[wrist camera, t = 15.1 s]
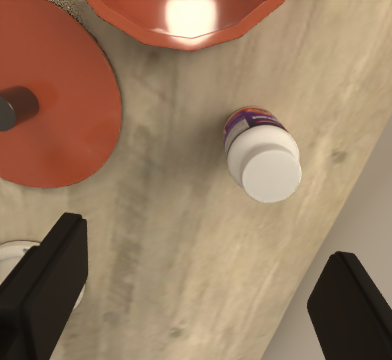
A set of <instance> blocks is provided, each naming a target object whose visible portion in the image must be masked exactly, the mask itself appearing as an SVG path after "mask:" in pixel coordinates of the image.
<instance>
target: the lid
mask: <svg viewBox="0 0 392 360" xmlns="http://www.w3.org/2000/svg"><path fill="white" fill-rule="evenodd" d="M121 123H122V102H121V97H120V91H119V87H118V84H117V81H116V77H115V75H114V72H113V70H112V68H111V65H110V63H109V61H108V60H107V58H106V56H105V54H104V53H103V51H102V49H101V48H100V46H99V45H98V44H97V42H96V41H95V40H94V38H93V37H92V36H91V35H90V34H89V32H88V31H87V30H86V29H85V28H84V27H83V26H82V25H81V24H80V23H79V22H78V21H77V20H76V19H74V18H73V17H72V16H71V15H70V14H69V13H67V12H66V11H64V10H63V9H61V8H60V7H59V6H57V5H56V4H54V3H52V2H50V1H48V0H0V178H3V179H6V180H8V181H11V182H14V183H17V184H21V185H24V186H30V187H37V188H58V187H63V186H68V185H72V184H75V183H78V182H80V181H82V180H84V179H86V178H88V177H89V176H91V175H92V174H94V173H95V172H96V171H97V170H98V169H100V168H101V167H102V166H103V164H104V163H105V162H106V161H107V159H108V158H109V157H110V155H111V153H112V152H113V150H114V148H115V146H116V143H117V141H118V138H119V134H120V130H121Z"/></svg>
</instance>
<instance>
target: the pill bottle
mask: <svg viewBox="0 0 392 360" xmlns="http://www.w3.org/2000/svg"><path fill="white" fill-rule="evenodd" d="M223 143H224V149H225V155H226V160H227V165H228V169H229V172H230V175H231V177H232V178H233V180H234V181H235V182H236V183H237V184H238V185H239V186H241V187H242V188H244V190H245V192H246V193H247V194H248V195H249V196H250V197H251V198H253V199H254V200H256V201H259V202H263V203H275V202H279V201H282V200H284V199H286V198H287V197H289V196H290V195H291V194H293V193H294V191H295V190H296V189H297V187H298V186H299V184H300V181H301V167H300V164H299V150H298V147H297V144H296V142H295V140H294V139H293V137H292V136H291V135H290V134H289V133H288V131H287V130H286V129H285V128H284V127H283V126H282V124H281V123H280V122H279V121H278V120H277V119H276V117H275V116H274V115H273V114H272V113H270V112H269V111H268V110H266V109H264V108H261V107H256V106H250V107H245V108H242V109H239V110H238V111H236V112H235V113H233V114H232V115H231V116H230V117H229V119H228V120H227V122H226V124H225V126H224V129H223Z"/></svg>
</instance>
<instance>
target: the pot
mask: <svg viewBox="0 0 392 360" xmlns="http://www.w3.org/2000/svg"><path fill="white" fill-rule="evenodd" d="M86 1H87V2H88V4H89V5H90V6H91V7H92V9H93V10H94V11H95V12H96V14H97V15H98V16H99V17H101V18H102V19H104V20H105V21H107V22H109V23H110V24H112V25H114V26H115V27H117V28H118V29H120V30H122V31H123V32H125V33H127V34H128V35H130V36H131V37H133V38H135V39H136V40H138V41H139V42H141V43H143V44H146V45H152V46H159V47H166V48H172V49H179V50H186V51H196V50H199V49H203V48H206V47H210V46H213V45H217V44H220V43H223V42H227V41H230V40H234V39H237V38H240V37H242V36H243V35H244V34H245V33H247V32H248V31H249V30H250V29H252V28H253V27H254V26H255V25H257V24H258V23H259V22H260V21H261V20H263V19H264V18H265V17H266V16H268V15H269V14H270V13H271V12H273V11H274V10H275V9H276V8H278V7H279V6H280V5H281V4H283V2H285V0H86Z"/></svg>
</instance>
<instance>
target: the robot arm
mask: <svg viewBox="0 0 392 360" xmlns="http://www.w3.org/2000/svg"><path fill="white" fill-rule="evenodd" d="M87 276H88V246H87V221H86V219H82V215H80V214H74V213H67V212H65V213H64V214H63V215H62V216H61V217H60V219H59V220H58V221H57V223H56V224H55V225H54V226H53V228H52V229H51V230H50V232H49V233H48V234H47V236H46V237H45V238H44V240H43V241H42V242H41V243H37V242H30V241H14V242H8V243H5V244H2V245H0V360H49V359H50V357H51V355H52V353H53V350H54V348H55V346H56V344H57V342H58V340H59V338H60V336H61V333H62V331H63V329H64V327H65V325H66V323H67V321H68V319H69V316H70V314H71V312H72V310H73V309H74V308H76V307H77V305H78V304H79V303H80V301H81V299H82V297H83V295H84V291H85V282H86V280H87ZM307 309H308V313H309V315H310V318H311V321H312V324H313V326H314V329H315V332H316V334H317V337H318V340H319V343H320V346H321V348H322V351H323V354H324V356H325V359H326V360H392V309H391V308H390V306H389V305H388V303H387V302H386V300H385V299H384V297H383V296H382V294H381V293H380V291H379V290H378V288H377V287H376V285H375V284H374V282H373V281H372V279H371V278H370V276H369V275H368V273H367V272H366V270H365V269H364V267H363V266H362V264H361V263H360V261H359V260H358V258H357V257H356V256H355V254H353V253H348V252H340V251H338V252H335V254H332V255H331V256H330V257H329V259H328V261H327V263H326V265H325V267H324V269H323V271H322V273H321V275H320V277H319V279H318V281H317V283H316V285H315V287H314V289H313V292H312V293H311V295H310V297H309V299H308V303H307Z"/></svg>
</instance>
